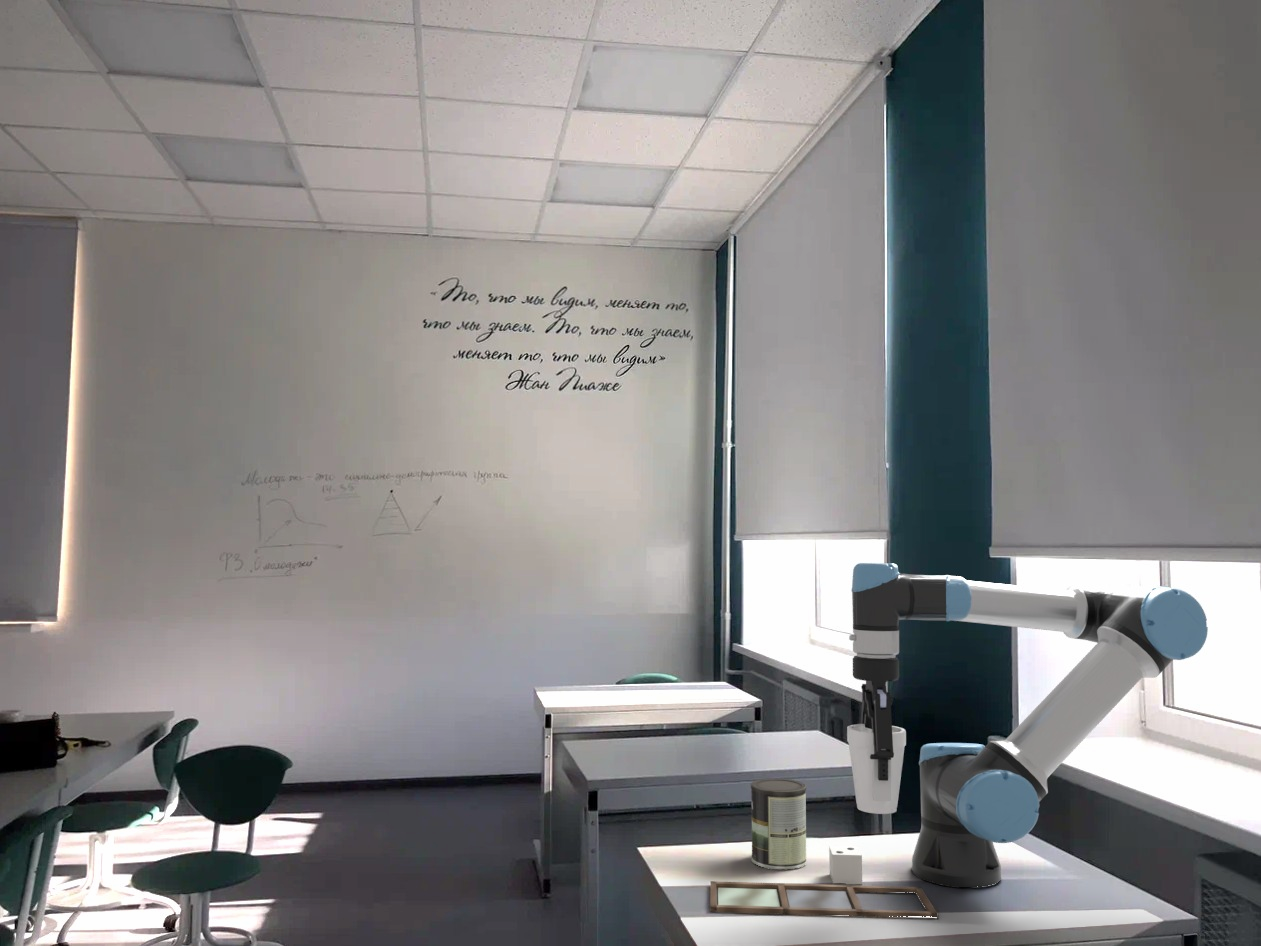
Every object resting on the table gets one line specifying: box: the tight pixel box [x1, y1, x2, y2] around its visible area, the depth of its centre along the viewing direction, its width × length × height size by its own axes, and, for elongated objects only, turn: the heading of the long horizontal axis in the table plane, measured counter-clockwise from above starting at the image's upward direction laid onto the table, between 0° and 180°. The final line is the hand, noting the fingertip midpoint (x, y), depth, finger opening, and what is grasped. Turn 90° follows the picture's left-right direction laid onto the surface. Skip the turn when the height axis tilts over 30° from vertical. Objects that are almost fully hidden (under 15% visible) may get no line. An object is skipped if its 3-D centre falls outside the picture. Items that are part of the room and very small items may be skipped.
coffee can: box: [750, 778, 808, 870], centre depth 184 cm, size 10×10×14 cm
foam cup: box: [846, 723, 907, 815], centre depth 163 cm, size 10×9×13 cm
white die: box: [828, 845, 863, 885], centre depth 174 cm, size 5×5×5 cm
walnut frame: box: [709, 880, 939, 918], centre depth 162 cm, size 36×12×1 cm, turn 85°
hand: (876, 792), depth 163 cm, fingers closed on foam cup, 9 cm apart
